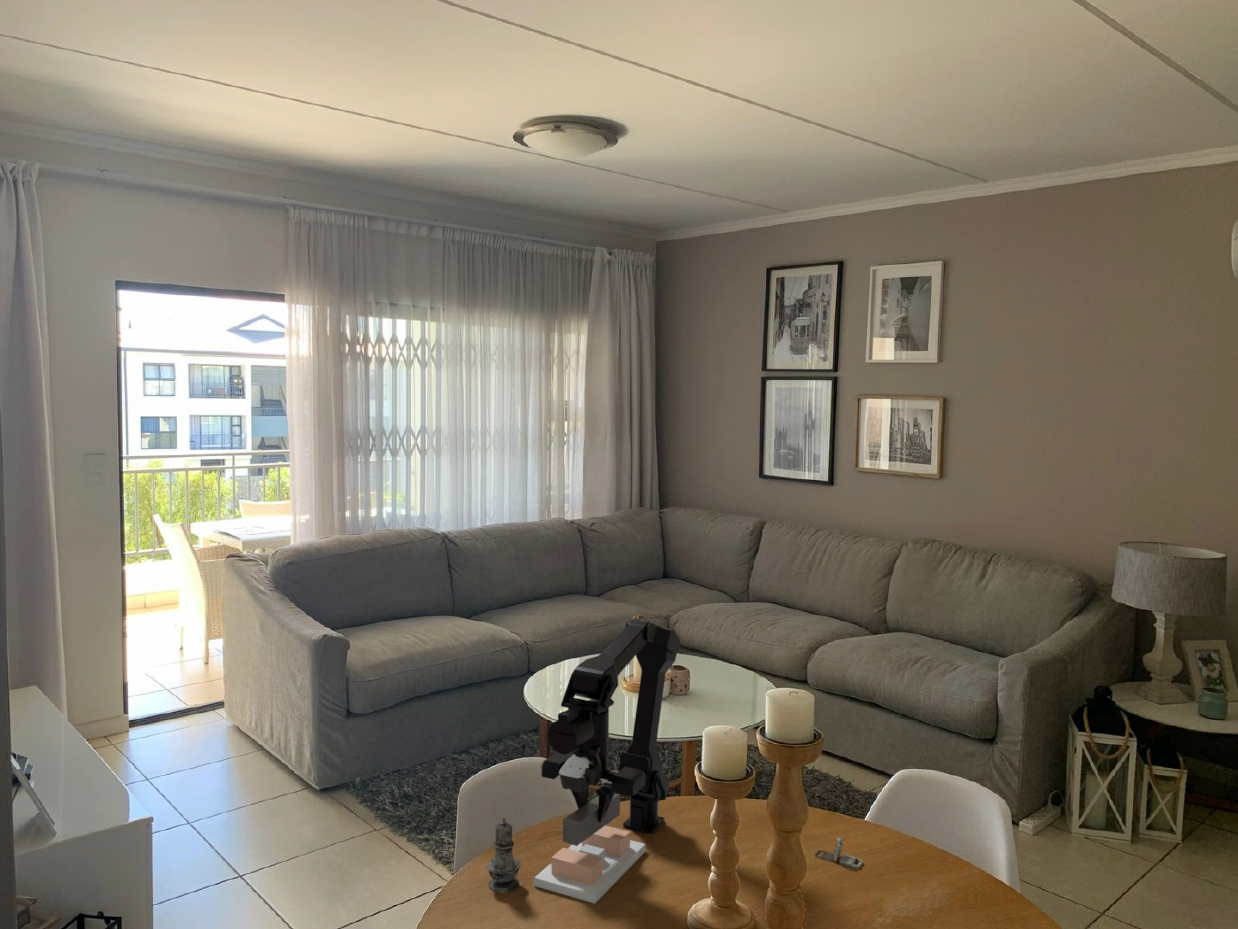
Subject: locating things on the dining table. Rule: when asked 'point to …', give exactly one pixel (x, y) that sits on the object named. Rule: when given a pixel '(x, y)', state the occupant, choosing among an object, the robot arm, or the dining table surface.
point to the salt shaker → (503, 861)
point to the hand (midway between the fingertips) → (592, 819)
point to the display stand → (591, 865)
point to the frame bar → (588, 820)
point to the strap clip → (843, 860)
